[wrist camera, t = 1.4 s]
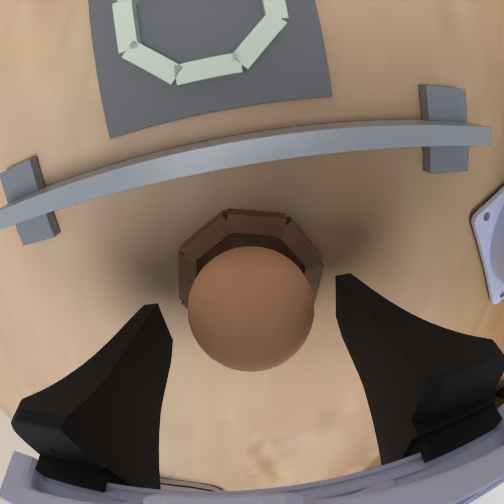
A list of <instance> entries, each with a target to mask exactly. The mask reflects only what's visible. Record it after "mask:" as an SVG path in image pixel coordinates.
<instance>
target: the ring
mask: <svg viewBox="0 0 504 504" xmlns="http://www.w3.org/2000/svg"><path fill="white" fill-rule="evenodd" d="M230 233H243V234H255V235H268V236H279V237H280V238H281V239H282V240H283V242H284V243H285V244H286V245H287V246H288V247H289V249H290V250H291V251H292V252H293V253H294V255H295V256H296V257H297V258H298V259H299V260H300V262H301V263H302V264H303V266H302V273H303V274H304V275H305V277H306V279H307V281H308V283H309V285H310V288H311V291H312V294H313V300H314V303H315V299H316V295H317V291H318V287H319V283H320V279H321V275H322V270H323V266H324V265H323V262H322V261H323V260H322V258H321V256H320V254H319V253H318V252H317V250H316V249H315V248H314V246H313V245H312V244H311V243H310V241H309V240H308V239H307V238H306V236H305V235H304V234H303V233H302V231H301V230H300V229H299V228H298V226H297V225H296V224H295V223H294V221H293V220H292V219H291V218H290V216H289V217H288V218H286V216H285V214H280V213H269V212H257V211H245V210H233V209H228V215H226V214H225V212H224V211H222V212H221V213H220V214H218V215H217V216H216V217H215V218H213V219H212V220H211V221H210V222H209V223H207V224H206V225H205V226H204V227H203V228H201V229H200V230H199V231H198V232H197V233H195V234H194V235H193V236H192V237H191V238H189V239H188V240H187V241H186V242H185V243H184V244H183V245H182V247H181V249H180V252H179V254H178V259H179V299H180V300H182V303H181V304H183V305H184V306H185V307H186V308H187V309H188V299H189V294H190V290H191V288H192V285H193V283H194V280H195V279H196V277H197V275H198V259H199V258H200V257H201V256H202V255H204V254H205V253H206V252H207V251H209V250H210V249H211V248H212V247H214V246H215V245H216V244H217V243H219V242H220V241H221V240H223V239H224V238H225V237H226V236H228V235H229V234H230Z"/></svg>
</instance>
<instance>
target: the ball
mask: <svg viewBox="0 0 504 504" xmlns="http://www.w3.org/2000/svg"><path fill="white" fill-rule="evenodd" d="M188 318H189V323H190V327H191V330H192V333H193V335H194V337H195V339H196V341H197V342H198V344H199V345H200V347H201V348H202V349H203V350H204V351H205V352H206V353H207V354H208V355H209V356H210V357H211V358H212V359H214V360H215V361H217V362H218V363H220V364H222V365H224V366H226V367H229V368H231V369H235V370H240V371H262V370H267V369H270V368H273V367H276V366H278V365H280V364H282V363H284V362H285V361H287V360H288V359H290V358H291V357H292V356H293V355H294V354H295V353H296V352H297V351H298V350H299V349H300V348H301V346H302V345H303V344H304V342H305V341H306V339H307V337H308V335H309V333H310V330H311V327H312V323H313V318H314V300H313V294H312V291H311V288H310V285H309V283H308V281H307V279H306V277H305V275H304V274H303V273H302V271H301V270H300V269H299V268H298V266H297V265H296V264H295V263H294V262H293V261H291V260H290V259H289V258H287V257H286V256H284V255H282V254H281V253H279V252H277V251H274V250H272V249H268V248H264V247H257V246H245V247H238V248H234V249H231V250H228V251H225V252H223V253H221V254H219V255H218V256H216V257H215V258H213V259H212V260H211V261H210V262H208V263H207V264H206V265H205V266H204V267H203V269H202V270H201V271H200V272H199V274H198V275H197V277H196V279H195V280H194V283H193V285H192V288H191V290H190V294H189V299H188Z"/></svg>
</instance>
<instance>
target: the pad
mask: <svg viewBox="0 0 504 504" xmlns="http://www.w3.org/2000/svg"><path fill="white" fill-rule="evenodd" d="M88 2H89V14H90V24H91V33H92V41H93V49H94V56H95V63H96V69H97V75H98V81H99V87H100V93H101V98H102V103H103V108H104V113H105V118H106V123H107V127H108V132H109V136H110V139H111V138H114V137H117V136H120V135H124V134H127V133H130V132H134V131H137V130H140V129H144V128H148V127H151V126H155V125H159V124H162V123H166V122H170V121H174V120H179V119H183V118H187V117H191V116H196V115H201V114H205V113H210V112H215V111H221V110H226V109H231V108H237V107H243V106H249V105H256V104H263V103H270V102H278V101H286V100H296V99H306V98H317V97H331V96H332V90H331V83H330V76H329V70H328V64H327V58H326V53H325V47H324V42H323V37H322V32H321V27H320V22H319V17H318V13H317V8H316V4H315V0H88Z"/></svg>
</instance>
